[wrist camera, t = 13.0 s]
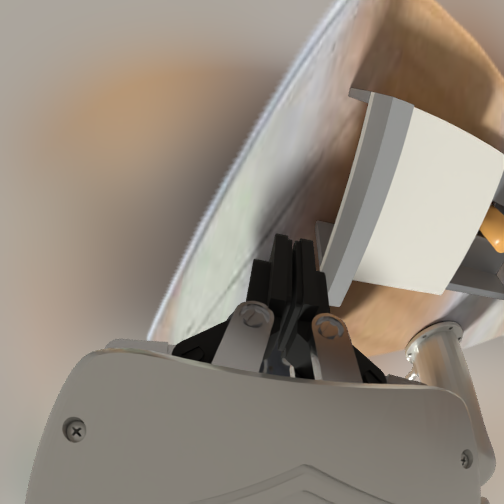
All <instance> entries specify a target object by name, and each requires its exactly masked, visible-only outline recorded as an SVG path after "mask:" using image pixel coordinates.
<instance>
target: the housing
mask: <svg viewBox="0 0 504 504" xmlns="http://www.w3.org/2000/svg"><path fill="white" fill-rule="evenodd" d="M370 94H371V92H370V91H365V90H360V89H355V88H350V91H349V95H348V96H349V97H352V98H355V99H358V100H360V101H363V102H366V103H369V99H370ZM492 201H494V202H496V205H495V207H496V208H497V209H498V210H499V211H500V212H501V213H502V214H503V215H504V171H503V174H502V177H501V179H500V182H499V185H498V187H497V190H496V192H495V195H494V197H493V200H492ZM334 225H335V224H332V223H327V222H322V221H317V222H316V225H315V233H316V241H317V249H318V258H319V267H320V266H321V263H322V260H323V257H324V254H325V251H326V248H327V246H328V243H329V240H330V237H331V234H332V231H333V228H334ZM503 263H504V253H499V252H497V251H496V250H495V248H494V247H493V246H492V245H491V243H490V242H489V241H488V240H487V239H486V237H485V236H484V235H483V234H482V233H481V231H480V230H478V232H477V234H476V236H475V238H474V240H473V242H472V244H471V246H470V248H469V250H468V251H467V253H466V255H465V257H464V259H463V260H462V262H461V264H460V266H459V267H458V269H457V271H456V272H455V274H454V276H453V277H452V279H451V281H450V282H449V284H448V285H447V287H446V290H452V291H457V292H463V293H468V294H474V295H480V296H485V297H491V298H497V299H502V300H504V286H503V284H502V283H501V281H500V280H499V278H498V277H497V275H496V274H497V273H498V271H499V269H500V268H501V266H502V264H503Z"/></svg>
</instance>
